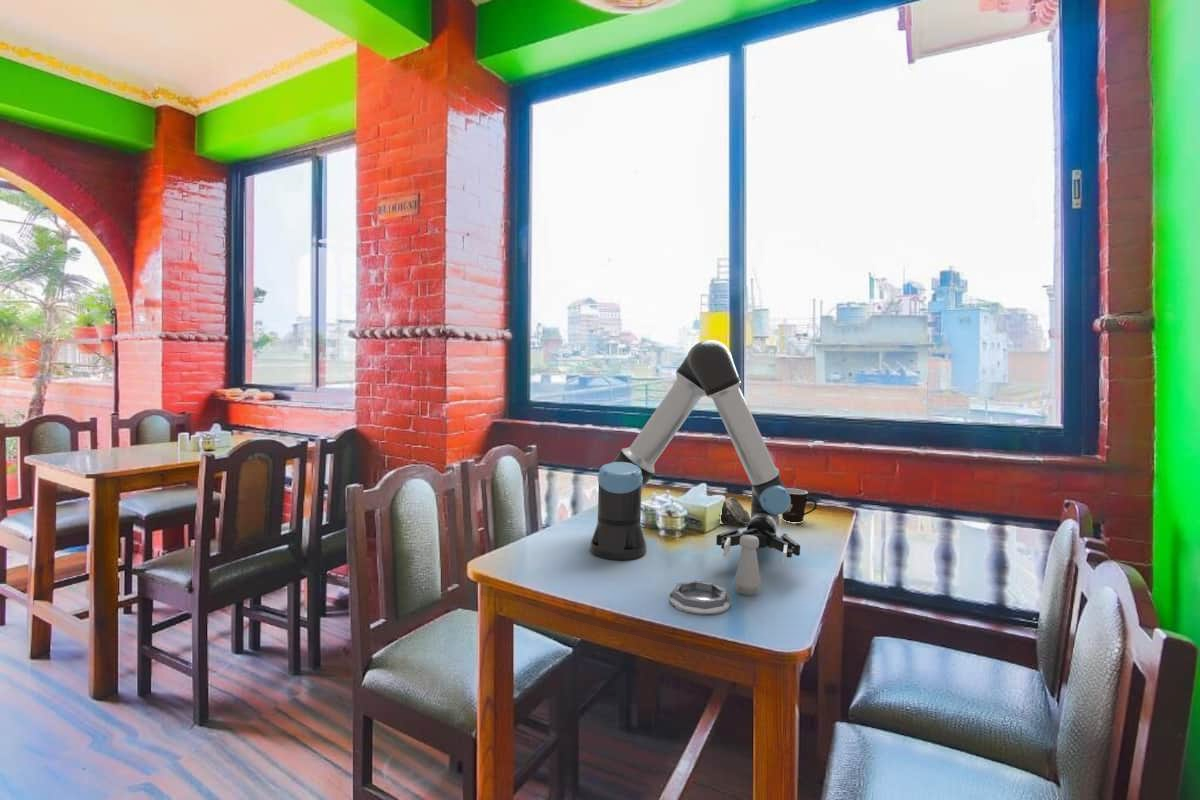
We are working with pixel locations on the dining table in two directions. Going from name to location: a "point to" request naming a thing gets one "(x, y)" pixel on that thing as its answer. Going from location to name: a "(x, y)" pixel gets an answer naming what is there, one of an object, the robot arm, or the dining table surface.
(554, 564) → the dining table surface
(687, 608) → the steel collar
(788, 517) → the coffee mug
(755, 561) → the salt shaker
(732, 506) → the fossil
